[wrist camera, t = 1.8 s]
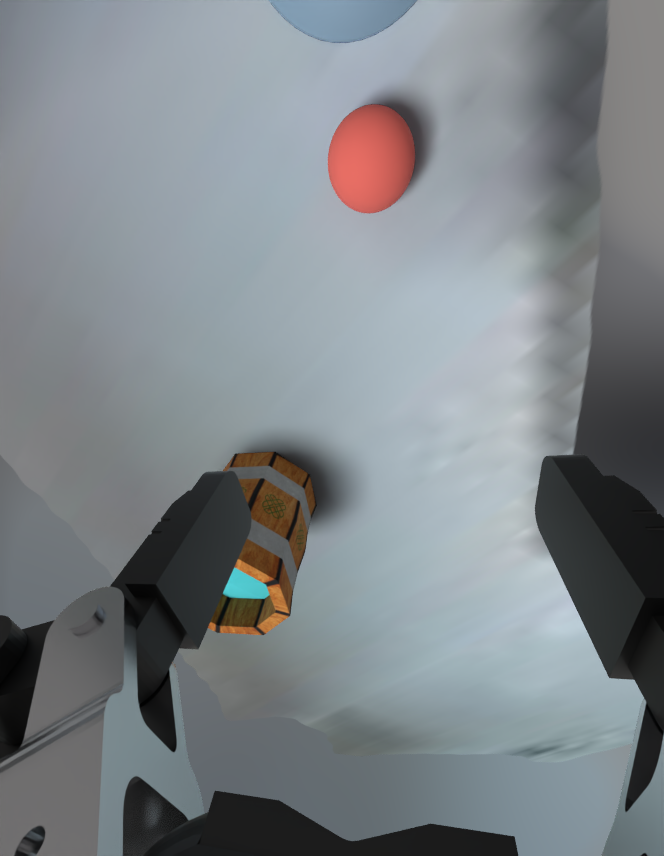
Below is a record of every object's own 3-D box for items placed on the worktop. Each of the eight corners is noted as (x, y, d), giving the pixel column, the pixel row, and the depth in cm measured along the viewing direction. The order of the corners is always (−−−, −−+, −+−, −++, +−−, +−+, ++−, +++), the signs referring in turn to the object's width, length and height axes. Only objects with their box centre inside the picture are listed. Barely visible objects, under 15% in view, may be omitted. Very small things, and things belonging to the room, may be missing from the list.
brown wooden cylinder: (278, 433, 41) (230, 531, 28) (337, 511, 46) (318, 623, 34) (165, 487, 48) (86, 584, 35) (226, 549, 53) (177, 653, 41)
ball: (339, 219, 29) (330, 220, 24) (327, 127, 26) (313, 105, 21) (414, 205, 28) (420, 203, 23) (410, 107, 25) (416, 79, 20)
